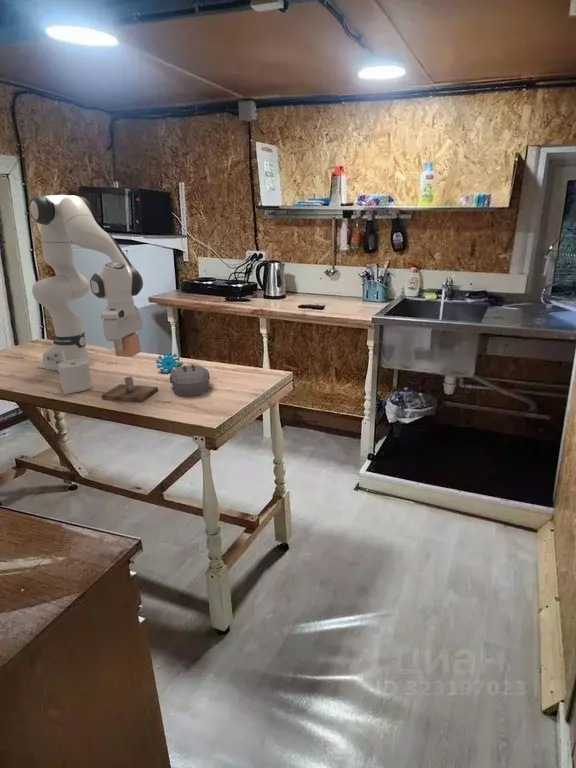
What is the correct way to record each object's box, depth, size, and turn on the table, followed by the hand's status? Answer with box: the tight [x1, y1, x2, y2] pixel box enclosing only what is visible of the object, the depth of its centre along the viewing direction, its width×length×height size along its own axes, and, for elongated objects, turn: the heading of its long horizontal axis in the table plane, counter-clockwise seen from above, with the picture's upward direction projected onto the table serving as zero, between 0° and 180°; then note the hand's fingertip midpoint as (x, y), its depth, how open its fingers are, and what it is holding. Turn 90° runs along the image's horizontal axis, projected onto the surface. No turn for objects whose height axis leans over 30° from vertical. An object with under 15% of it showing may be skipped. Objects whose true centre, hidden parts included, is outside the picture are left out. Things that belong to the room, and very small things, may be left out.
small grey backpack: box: [169, 364, 211, 397], centre depth 186 cm, size 15×8×20 cm
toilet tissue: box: [58, 359, 93, 395], centre depth 188 cm, size 11×12×10 cm
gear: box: [155, 351, 184, 375], centre depth 208 cm, size 11×6×10 cm
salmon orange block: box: [113, 333, 142, 358], centre depth 180 cm, size 6×6×7 cm
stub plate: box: [101, 376, 159, 403], centre depth 181 cm, size 16×12×6 cm
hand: (127, 347), depth 180 cm, fingers closed on salmon orange block, 6 cm apart
